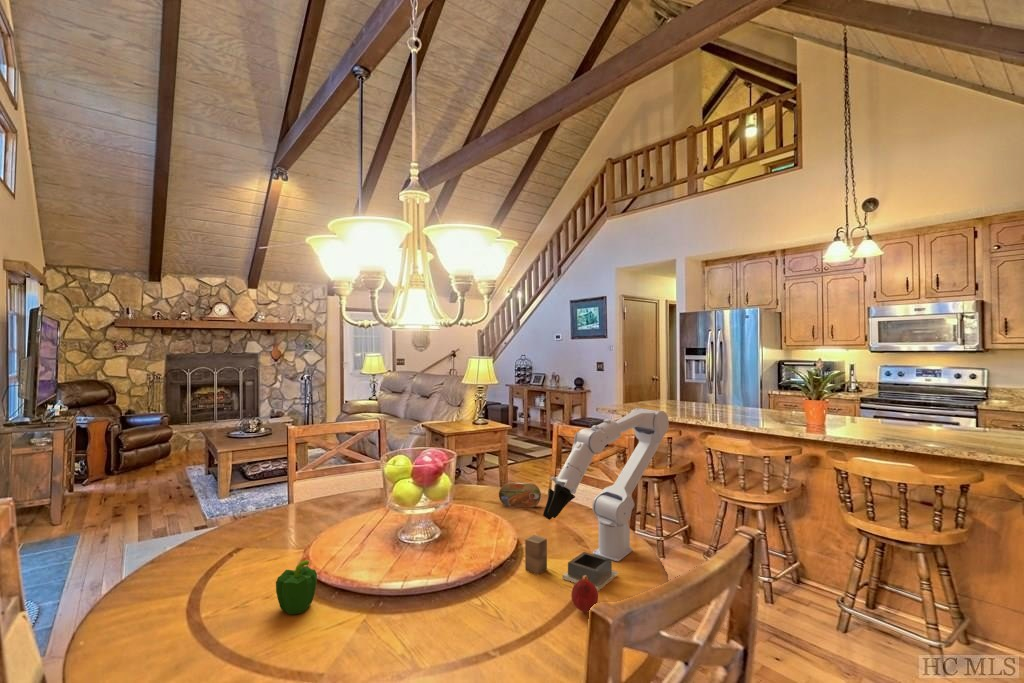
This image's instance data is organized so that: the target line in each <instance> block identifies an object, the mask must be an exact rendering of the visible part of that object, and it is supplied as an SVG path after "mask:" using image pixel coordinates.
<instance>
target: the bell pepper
mask: <svg viewBox="0 0 1024 683" xmlns="http://www.w3.org/2000/svg"><path fill="white" fill-rule="evenodd" d="M309 564H310V561H309V560H308V559H307V560H306V559H305V560H303V561H301V562H299V564H297V565H296V568H295V570H293V569H285V570H284V571H283V573H282V574H280V575H279V576H278V577H277V578H276V581H275V593H276V597H277V601H278V604H279V608H280V610H282V612H285V613H287V614H289V615H292V616H293V615H299V614H301V613H305V611H306V610H307V609H308V608H309V606H310V607H311V604H312V603H313V601H314V597H315V593H316V589H317V585H318V584H317V583H318V573H317V571H316V569H312V568H310V567H309Z"/></svg>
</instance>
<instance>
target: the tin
mask: <svg viewBox="0 0 1024 683" xmlns="http://www.w3.org/2000/svg"><path fill="white" fill-rule="evenodd" d="M541 497H542V493H541V490H540V488H539V487H538V486H537V485H536V484H535V483H531V482H512V481H511V482H507V483H504V484H503V485H502V486H501V487H500V489H499V491H498V499H499V502H501V504H503V505H504V506H506V507H509V508H522V509H523V508H524V509H529V508H530V509H532V508H535V507H536V506H538V504H540V501H541Z"/></svg>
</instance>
